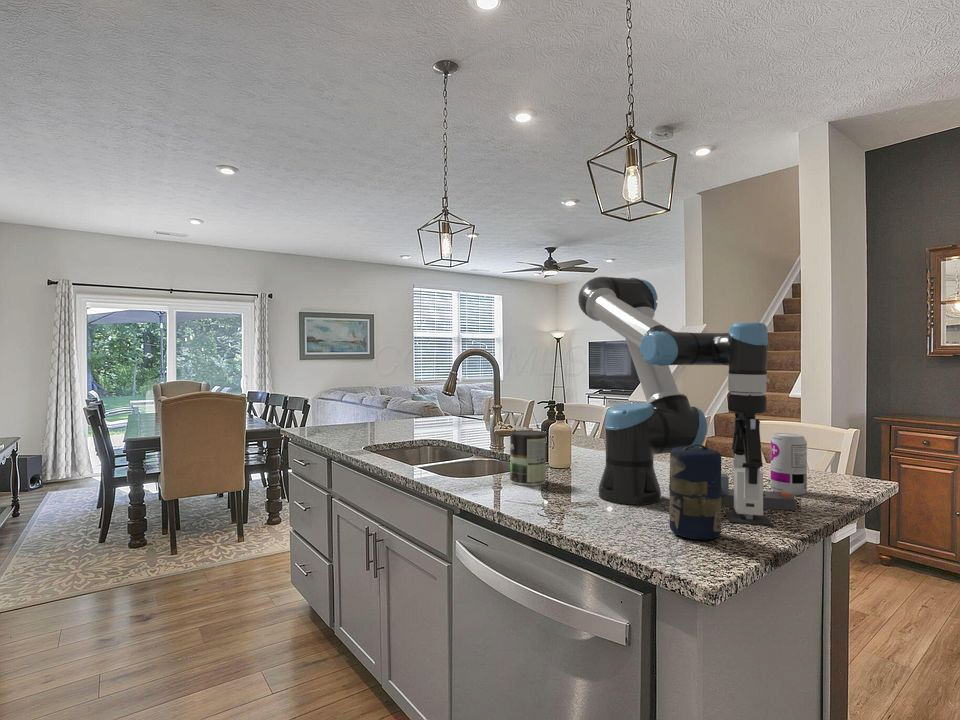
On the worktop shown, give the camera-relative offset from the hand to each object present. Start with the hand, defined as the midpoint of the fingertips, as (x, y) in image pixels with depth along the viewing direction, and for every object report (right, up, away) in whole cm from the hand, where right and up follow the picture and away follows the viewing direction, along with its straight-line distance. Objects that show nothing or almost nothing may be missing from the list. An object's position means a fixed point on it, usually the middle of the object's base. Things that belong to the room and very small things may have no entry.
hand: (745, 490), depth 118 cm
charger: (0, -6, -1) cm, 6 cm away
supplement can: (+23, -6, +24) cm, 34 cm away
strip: (+3, -6, +11) cm, 13 cm away
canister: (-16, -6, -11) cm, 20 cm away
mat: (0, -6, -1) cm, 6 cm away
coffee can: (-44, -6, +35) cm, 57 cm away
